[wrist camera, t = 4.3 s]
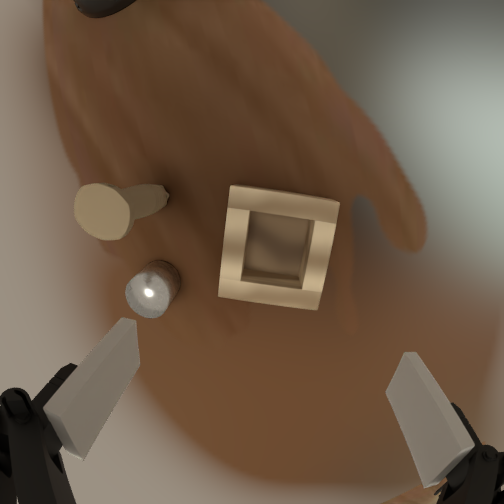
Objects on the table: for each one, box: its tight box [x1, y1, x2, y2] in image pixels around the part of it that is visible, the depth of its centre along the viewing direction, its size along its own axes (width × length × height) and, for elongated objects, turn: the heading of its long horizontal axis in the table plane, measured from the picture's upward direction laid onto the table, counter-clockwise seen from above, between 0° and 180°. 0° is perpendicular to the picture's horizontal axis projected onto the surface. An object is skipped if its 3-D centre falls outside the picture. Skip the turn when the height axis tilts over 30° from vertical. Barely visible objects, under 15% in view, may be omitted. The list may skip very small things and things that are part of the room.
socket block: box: [218, 184, 340, 310], centre depth 35 cm, size 14×12×5 cm
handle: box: [74, 183, 169, 240], centre depth 30 cm, size 5×6×15 cm
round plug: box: [125, 260, 181, 318], centre depth 37 cm, size 6×6×6 cm
